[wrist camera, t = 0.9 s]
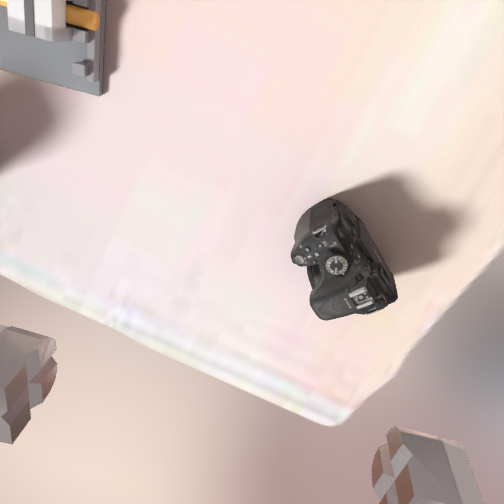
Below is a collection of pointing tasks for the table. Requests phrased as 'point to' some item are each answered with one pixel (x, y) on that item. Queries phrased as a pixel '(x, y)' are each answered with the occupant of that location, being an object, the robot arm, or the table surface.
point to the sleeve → (40, 19)
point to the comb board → (60, 49)
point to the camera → (341, 263)
